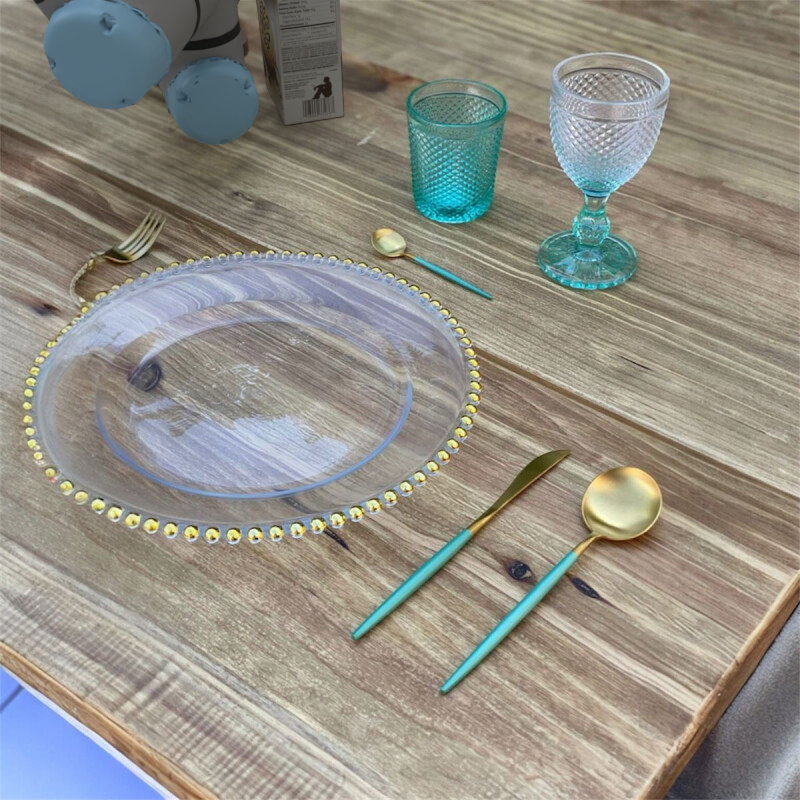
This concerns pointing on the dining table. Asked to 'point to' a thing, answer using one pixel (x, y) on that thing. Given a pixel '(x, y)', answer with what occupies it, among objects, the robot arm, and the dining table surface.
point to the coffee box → (302, 57)
